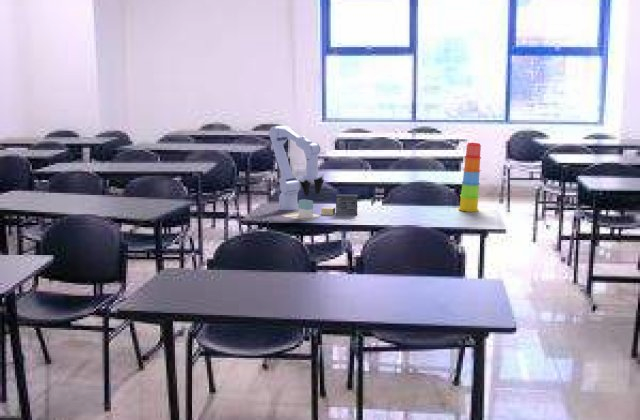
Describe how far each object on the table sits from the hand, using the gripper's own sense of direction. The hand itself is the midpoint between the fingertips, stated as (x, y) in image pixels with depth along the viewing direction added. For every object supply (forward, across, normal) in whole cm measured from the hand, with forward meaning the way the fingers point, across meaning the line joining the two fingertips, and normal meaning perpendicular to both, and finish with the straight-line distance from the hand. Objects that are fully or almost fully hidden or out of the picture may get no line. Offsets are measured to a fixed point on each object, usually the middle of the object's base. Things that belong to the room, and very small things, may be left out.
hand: (312, 194), depth 366 cm
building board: (+10, -8, -1) cm, 13 cm away
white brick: (+10, -8, -4) cm, 13 cm away
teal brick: (+6, -8, -4) cm, 11 cm away
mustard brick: (+10, +4, -7) cm, 13 cm away
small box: (+10, +10, -14) cm, 20 cm away
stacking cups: (+10, +64, -50) cm, 82 cm away
